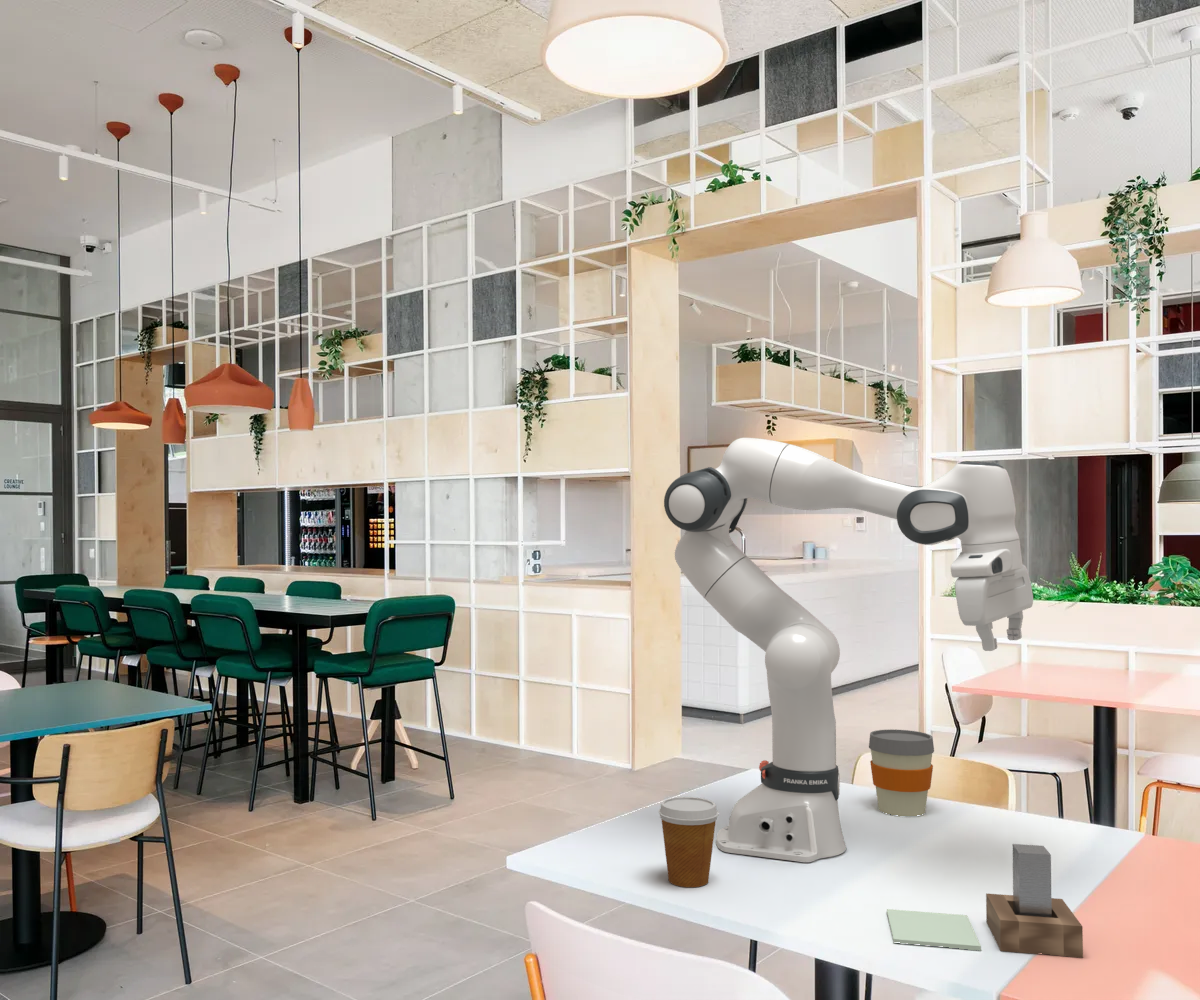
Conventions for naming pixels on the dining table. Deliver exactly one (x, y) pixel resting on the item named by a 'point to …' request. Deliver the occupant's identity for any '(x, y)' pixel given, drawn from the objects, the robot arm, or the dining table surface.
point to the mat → (933, 929)
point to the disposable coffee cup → (688, 839)
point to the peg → (1031, 881)
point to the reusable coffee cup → (901, 770)
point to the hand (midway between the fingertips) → (1002, 644)
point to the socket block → (1034, 928)
